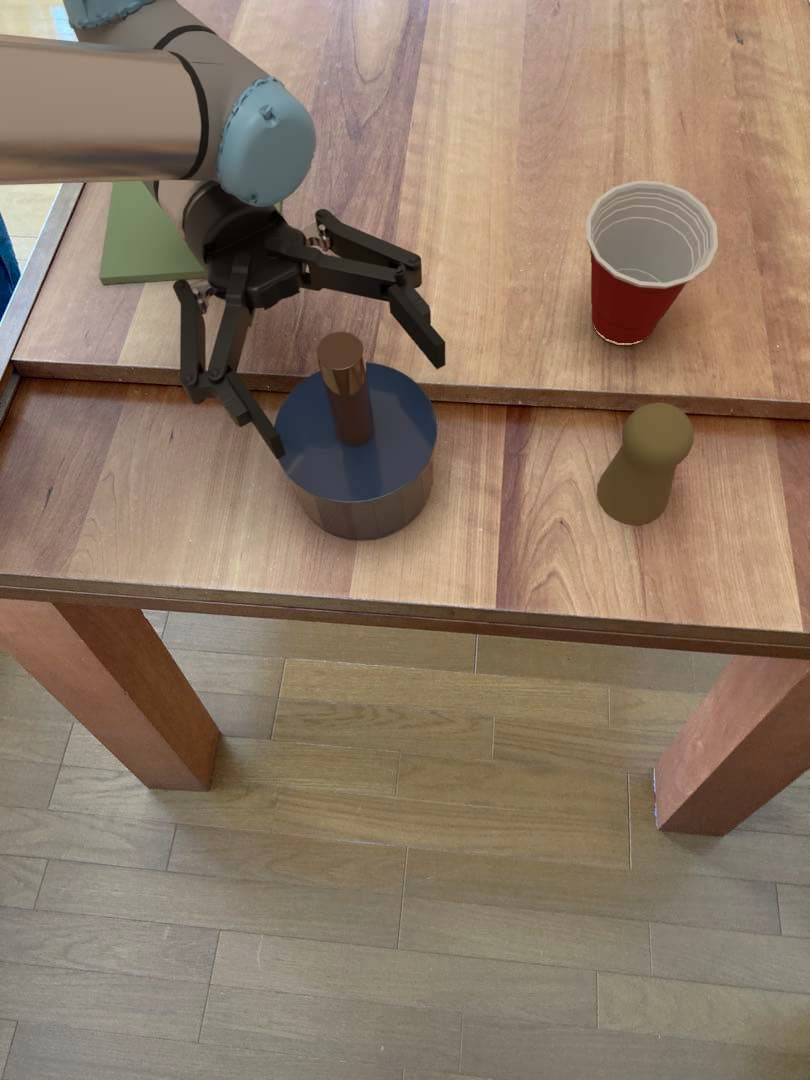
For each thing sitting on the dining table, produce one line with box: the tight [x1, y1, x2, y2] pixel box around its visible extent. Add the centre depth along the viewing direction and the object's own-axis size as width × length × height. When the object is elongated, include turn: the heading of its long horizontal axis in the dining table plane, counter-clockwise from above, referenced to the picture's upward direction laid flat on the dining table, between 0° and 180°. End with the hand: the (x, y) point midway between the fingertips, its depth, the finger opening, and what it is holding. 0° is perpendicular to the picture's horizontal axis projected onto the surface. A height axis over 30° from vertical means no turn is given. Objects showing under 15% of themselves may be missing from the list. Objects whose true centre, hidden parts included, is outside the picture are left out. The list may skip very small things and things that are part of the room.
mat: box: [98, 181, 283, 285], centre depth 85 cm, size 18×16×1 cm
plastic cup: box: [585, 180, 719, 343], centre depth 72 cm, size 11×11×12 cm
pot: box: [291, 457, 434, 541], centre depth 69 cm, size 12×12×8 cm
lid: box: [273, 331, 438, 506], centre depth 61 cm, size 13×13×11 cm
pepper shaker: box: [596, 402, 695, 526], centre depth 65 cm, size 6×6×11 cm
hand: (361, 401), depth 58 cm, fingers open, 13 cm apart
